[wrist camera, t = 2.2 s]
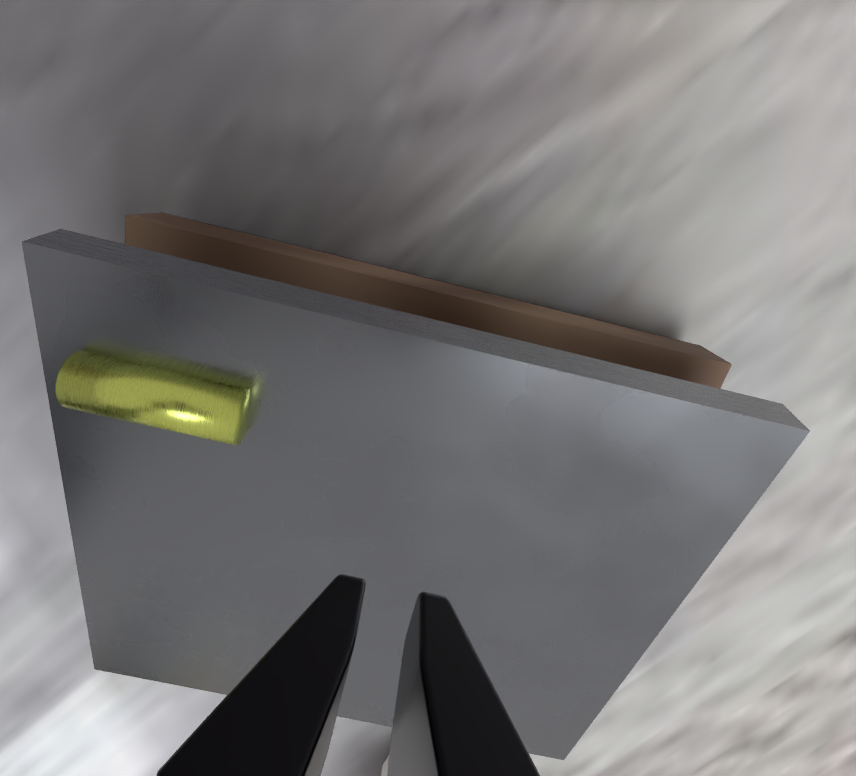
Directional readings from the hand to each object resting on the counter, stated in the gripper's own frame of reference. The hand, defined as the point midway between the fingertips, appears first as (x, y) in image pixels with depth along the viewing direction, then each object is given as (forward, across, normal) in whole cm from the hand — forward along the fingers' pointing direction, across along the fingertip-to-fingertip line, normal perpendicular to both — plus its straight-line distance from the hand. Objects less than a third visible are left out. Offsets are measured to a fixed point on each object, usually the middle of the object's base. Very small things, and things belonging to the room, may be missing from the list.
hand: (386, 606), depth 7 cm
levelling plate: (+8, 0, +5) cm, 9 cm away
